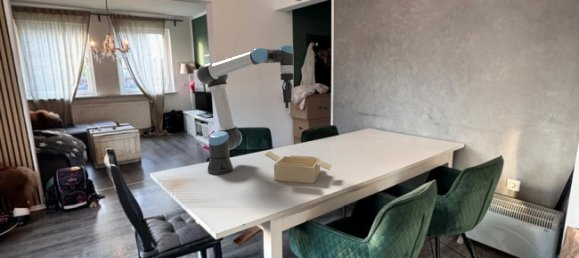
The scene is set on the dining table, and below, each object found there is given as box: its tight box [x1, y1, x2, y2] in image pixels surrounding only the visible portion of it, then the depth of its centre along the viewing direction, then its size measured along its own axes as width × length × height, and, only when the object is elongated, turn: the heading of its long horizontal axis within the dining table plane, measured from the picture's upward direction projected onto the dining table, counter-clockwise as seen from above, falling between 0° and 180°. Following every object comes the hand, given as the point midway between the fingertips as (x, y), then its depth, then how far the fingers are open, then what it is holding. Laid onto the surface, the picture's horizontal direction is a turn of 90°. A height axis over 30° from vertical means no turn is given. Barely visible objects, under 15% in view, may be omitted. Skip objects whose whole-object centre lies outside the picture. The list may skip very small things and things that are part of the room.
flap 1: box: [264, 150, 281, 162], centre depth 179 cm, size 8×8×1 cm
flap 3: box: [290, 155, 316, 158], centre depth 188 cm, size 14×8×1 cm, turn 74°
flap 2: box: [276, 162, 306, 167], centre depth 163 cm, size 14×8×1 cm, turn 74°
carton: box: [273, 155, 321, 185], centre depth 176 cm, size 22×18×9 cm
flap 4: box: [316, 159, 333, 171], centre depth 172 cm, size 8×8×1 cm
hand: (287, 113), depth 185 cm, fingers closed
